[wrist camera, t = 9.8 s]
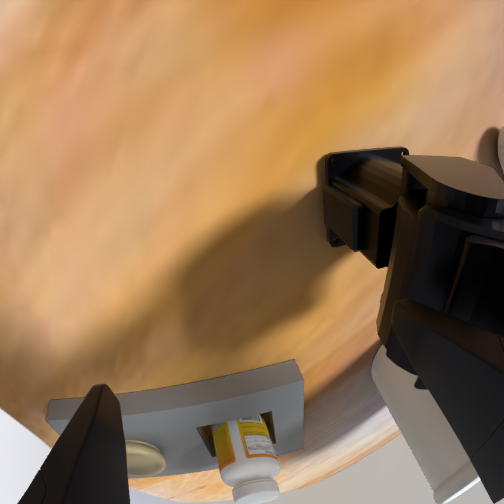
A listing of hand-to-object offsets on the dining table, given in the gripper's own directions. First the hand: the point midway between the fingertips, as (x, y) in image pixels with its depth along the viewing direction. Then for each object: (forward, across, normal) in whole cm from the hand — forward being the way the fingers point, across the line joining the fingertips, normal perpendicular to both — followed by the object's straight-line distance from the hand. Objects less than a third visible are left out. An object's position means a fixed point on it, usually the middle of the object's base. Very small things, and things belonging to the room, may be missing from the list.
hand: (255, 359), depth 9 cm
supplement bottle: (+12, +3, +22) cm, 25 cm away
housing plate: (+12, +9, +21) cm, 26 cm away
